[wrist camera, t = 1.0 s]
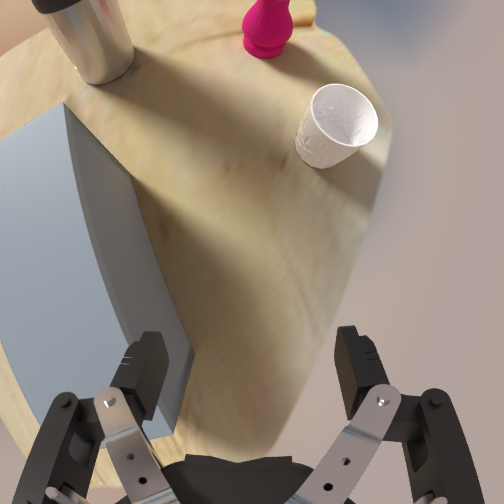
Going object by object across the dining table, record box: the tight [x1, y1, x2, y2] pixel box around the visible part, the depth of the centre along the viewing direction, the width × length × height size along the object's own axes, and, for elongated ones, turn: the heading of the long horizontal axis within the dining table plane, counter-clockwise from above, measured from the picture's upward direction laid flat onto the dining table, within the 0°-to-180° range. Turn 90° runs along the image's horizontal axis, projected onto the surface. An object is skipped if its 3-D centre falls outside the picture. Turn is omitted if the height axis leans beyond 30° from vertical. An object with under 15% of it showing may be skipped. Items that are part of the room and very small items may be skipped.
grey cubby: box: [0, 103, 195, 449], centre depth 26 cm, size 11×24×19 cm, turn 21°
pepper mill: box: [242, 0, 293, 58], centre depth 29 cm, size 7×7×20 cm
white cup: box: [295, 84, 378, 169], centre depth 34 cm, size 8×8×10 cm
